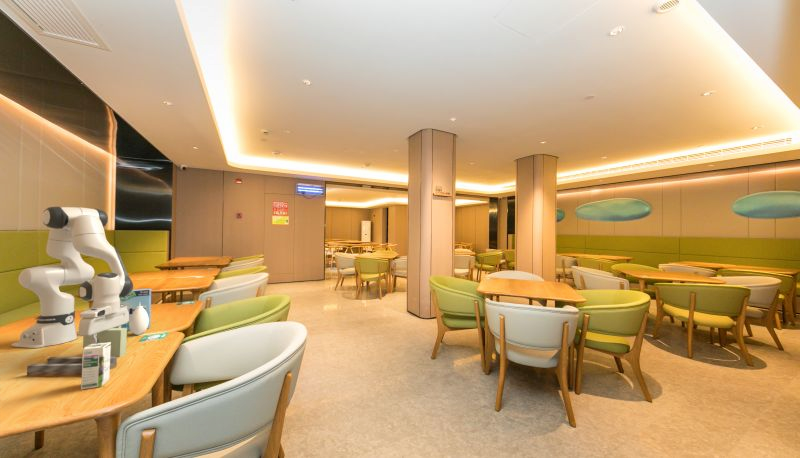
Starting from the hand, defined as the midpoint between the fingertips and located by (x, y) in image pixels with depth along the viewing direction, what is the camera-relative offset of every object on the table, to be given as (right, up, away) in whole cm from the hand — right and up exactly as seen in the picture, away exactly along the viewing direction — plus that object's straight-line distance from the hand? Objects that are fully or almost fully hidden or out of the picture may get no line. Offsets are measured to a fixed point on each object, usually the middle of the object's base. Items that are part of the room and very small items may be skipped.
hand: (105, 339), depth 131 cm
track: (+2, -7, -15) cm, 17 cm away
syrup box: (+22, -7, -25) cm, 34 cm away
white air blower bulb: (-10, -8, +28) cm, 30 cm away
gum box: (-22, -8, +34) cm, 41 cm away
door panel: (0, -7, 0) cm, 7 cm away
